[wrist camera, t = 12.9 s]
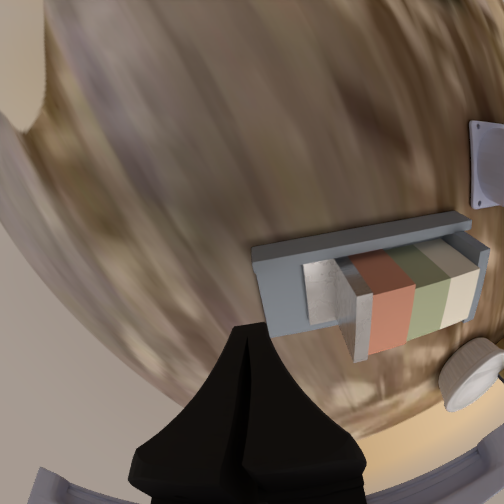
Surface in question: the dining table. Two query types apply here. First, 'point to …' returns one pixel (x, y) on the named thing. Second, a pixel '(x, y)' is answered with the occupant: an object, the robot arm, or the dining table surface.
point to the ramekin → (470, 373)
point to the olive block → (423, 289)
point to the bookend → (340, 301)
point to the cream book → (453, 278)
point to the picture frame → (503, 374)
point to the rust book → (386, 299)
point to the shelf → (344, 244)
